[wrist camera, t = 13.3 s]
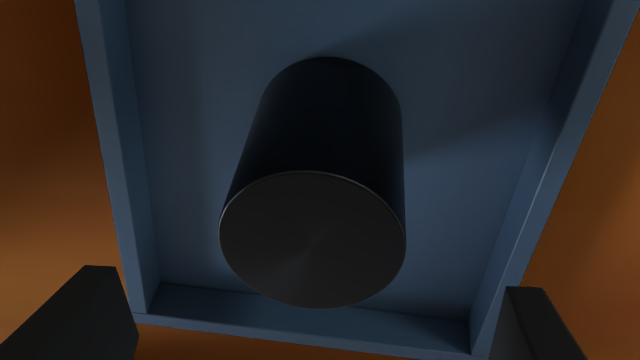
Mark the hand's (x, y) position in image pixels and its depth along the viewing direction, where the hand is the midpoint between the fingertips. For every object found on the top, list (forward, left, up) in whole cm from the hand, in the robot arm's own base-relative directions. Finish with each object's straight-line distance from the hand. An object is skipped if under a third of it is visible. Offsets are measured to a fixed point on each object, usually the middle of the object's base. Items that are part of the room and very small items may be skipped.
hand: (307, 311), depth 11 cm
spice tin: (0, 0, -7) cm, 7 cm away
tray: (0, 0, -7) cm, 7 cm away
